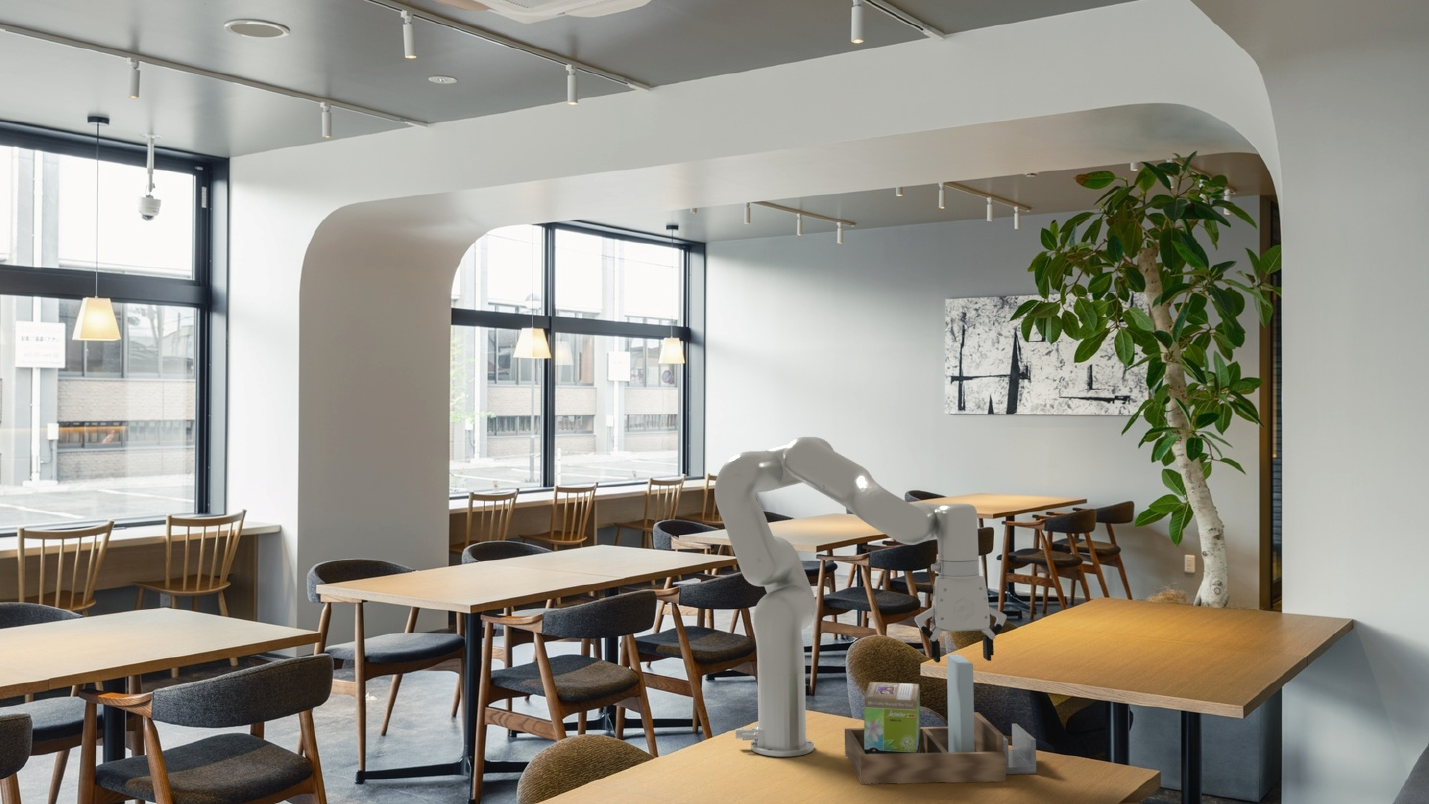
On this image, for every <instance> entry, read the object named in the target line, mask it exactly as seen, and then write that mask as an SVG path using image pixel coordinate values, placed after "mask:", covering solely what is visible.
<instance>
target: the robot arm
mask: <svg viewBox="0 0 1429 804" xmlns="http://www.w3.org/2000/svg"><path fill="white" fill-rule="evenodd" d="M802 483H803V484H805V485H806V486H808V487H810V488H812V489H814V490H816V491H818V492H819V493H821V494H823V495H825V496H826V497H828V498H829V499H831V500H832V501H835V502H837V503H839V504H840V506H841V505H842V506H843V507H845V508H846V509H847V510H848V511H849V512H850V513H852V514H853V515H855V516H856V517H857V518H858V519H860V520H861V521H863V522H864V523H866V524H868V526H870V527H872V528H874V529H875V530H877V531H878V532H879V533H880V532H881V533H883V534H884V535H886V536H887V537H889V538H891V539H893V540H895V541H897V542H899V543H901V544H904V545H909V546H914V545H918V544H921V543H924V542H928V541H933V540H937V556H938V557H937V560H936V563H931V565H930V570H931V572H936V573H937V574H938V576H937V575H936V576H935V579H934V584H933V593H932V606H931V607H930V608H928V609H927V610H925V611H923V612H921V613H919V614H917V615H915V616H914V621H915V623H916V625H917V627H918V628H919V631H920V632H921V633H922V634H923V635H925V636H926V637H927V639H928V640H929V656H930V658H932V660H933V661H934V662H935V663H938V664H939V663H940V662H941V644H940V642H941V641H939V637H940V635H942V633H943V632H972V631H973V632H975V631H981V632H982V633H983V634H984V636H983V637H982V656H983V659H984V660H986V661H987V662H991V661H992V656H994V652H995V651H994V650H995V649H994V639H995V638H996V636H997V635H998V634H999V633H1000V632H1001V631H1002V630H1003V626H1004V624H1005V622H1006V620H1007V619H1008V618H1007V616H1008V615H1007V614H1005V613H1003V612H1001V611H999V610H997V609H995V608H993V607H991V606H989V604H990V603H989V598H988V597H989V595H988V590H987V585H986V580H985V577H984V576H982V575H980V561H979V559H980V558H979V557H980V556H979V533H978V532H979V529H978V528H979V527H978V513H977V512H978V511H977V509H976V507H975V506H974V505H973V504H970V503H969V504H968V503H947V504H934V503H926V502H913V503H910V502H908V501H907V500H905V499H903V498H901V497H899V496H898V495H895V494H894V493H893V492H890V491H889V490H887V489H886V488H884V487H883V486H881V485H880V484H879V483H878V482H876V480H874V478H873V477H872V475H871V473H870V471H868V470H867V469H866V468H865V467H864V466H862V465H860V464H858V463H857V462H855V461H853V460H851V459H849V458H847V457H845V456H844V455H842V454H840V453H838V452H837V451H835V450H834V448H833V447H832V445H831V444H830V443H829V442H828V441H826V440H825V439H823V438H821V437H817V436H800V437H797V438H795V439H793V440H791V441H790V442H789V443H788V444H787V445H783V446H780V447H775V448H770V449H767V450H758V451H757V450H756V451H755V450H754V451H751V450H749V451H743V452H740V453H738V454H735V455H733V456H731V457H730V458H729V459H728V460H727V461H726V462H725V463H724V464H723V465H722V467H721V469H720V470H719V472H718V474H717V476H716V479H715V484H714V499H715V504H716V506H717V510H718V514H719V515H720V517H721V521H722V522H723V526H724V528H725V531H726V533H727V536H728V539H729V542H730V545H731V547H732V550H733V553H734V555H735V558H736V560H737V561H736V562H737V563H738V567H739V569H740V572H741V574H742V576H743V577H744V580H746V581H747V582H748V584H751V585H752V586H755V587H764V588H765V589H764V590H765V591H766V594H764V595H763V596H762V597H761V598H760V599H759V600H758V602H757V604H756V605H755V608H754V612H753V629H754V634H755V635H754V636H755V643H756V659H757V664H756V665H757V667H756V668H757V669H756V671H757V705H758V706H757V709H758V710H757V722H756V723H755V726H752V727H750V728H747V729H746V728H735V730H734V731H735V739H736V740H737V739H738V740H740V739H741V740H742V741H751V742H750V749H751V751H752V752H754V753H756V754H759V755H763V756H768V757H778V758H779V757H785V758H787V757H798V756H802V755H803V756H804V755H807V754H810V753H811V752H813V751H814V749H815V743H814V742H813V741H812V739H809V738H807V733H806V731H807V728H806V727H807V726H806V725H807V721H806V718H807V717H806V713H807V712H806V711H807V710H806V660H805V657H806V656H805V646H804V640H803V635H802V631H803V630H805V629H807V628H809V626H811V624H812V623H813V622H814V620H815V618H816V616H817V610H818V608H817V607H818V606H817V600H816V597H815V594H814V592H813V589H812V586H811V584H810V582H809V581H810V580H809V579H808V576H807V574H806V573H807V572H806V571H805V569H804V566H803V564H802V560H801V558H800V556H799V553H798V552H797V550H796V549H795V547H794V546H793V544H792V543H791V542H790V541H788V540H787V539H785V538H783V537H781V536H776V535H774V534H773V533H772V530H771V528H770V526H769V523H768V522H769V521H768V520H767V517H766V515H765V512H764V511H763V508H762V507H761V506H760V504H759V502H758V500H757V496H756V494H757V493H766V492H769V491H770V492H771V491H774V490H775V491H776V490H779V489H782V488H786V487H790V486H794V485H798V484H802ZM990 615H991V616H993V617H995V618H996V619H995V623H994V624H993V625H992V626H991V616H990ZM931 617H932V624H933V627H931V629H929V628H928V627H927V625H926V623H925V621H927V620H928V619H930V618H931ZM990 626H991V627H990Z"/></svg>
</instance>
